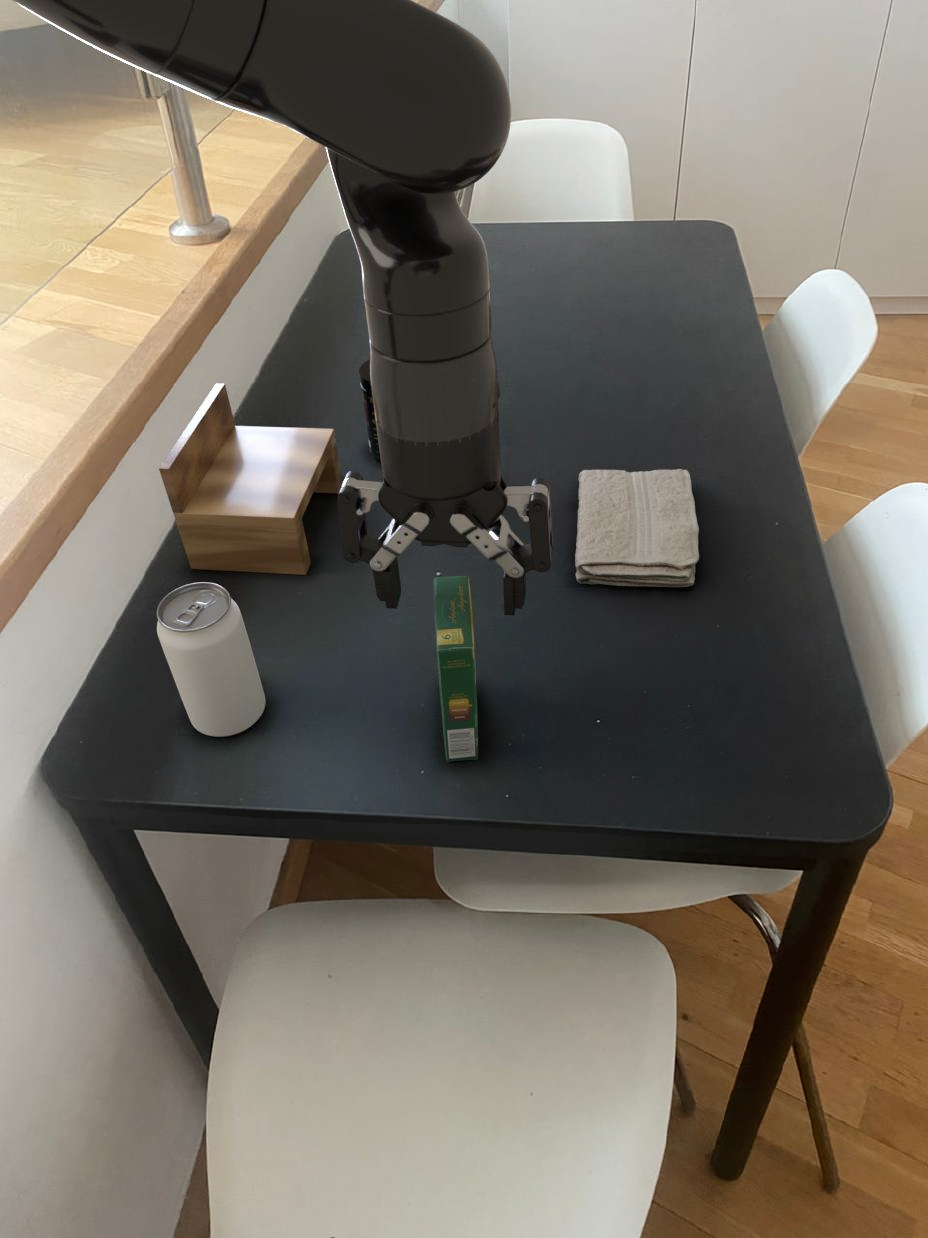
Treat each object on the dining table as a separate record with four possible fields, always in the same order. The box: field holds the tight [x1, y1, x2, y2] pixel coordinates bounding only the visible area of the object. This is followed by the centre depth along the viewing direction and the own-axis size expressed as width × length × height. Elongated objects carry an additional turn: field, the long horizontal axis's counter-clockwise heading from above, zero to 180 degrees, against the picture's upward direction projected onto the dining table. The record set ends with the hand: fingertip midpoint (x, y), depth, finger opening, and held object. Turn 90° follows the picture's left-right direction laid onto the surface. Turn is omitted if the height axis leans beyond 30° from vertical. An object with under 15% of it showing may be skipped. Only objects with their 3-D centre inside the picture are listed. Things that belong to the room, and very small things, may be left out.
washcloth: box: [574, 468, 700, 588], centre depth 92 cm, size 12×18×3 cm, turn 175°
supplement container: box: [358, 358, 381, 462], centre depth 103 cm, size 7×7×10 cm
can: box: [156, 581, 266, 738], centre depth 74 cm, size 6×6×12 cm
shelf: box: [158, 383, 344, 576], centre depth 94 cm, size 16×12×12 cm
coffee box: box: [432, 575, 479, 763], centre depth 71 cm, size 8×3×13 cm, turn 2°
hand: (452, 604), depth 66 cm, fingers open, 8 cm apart
